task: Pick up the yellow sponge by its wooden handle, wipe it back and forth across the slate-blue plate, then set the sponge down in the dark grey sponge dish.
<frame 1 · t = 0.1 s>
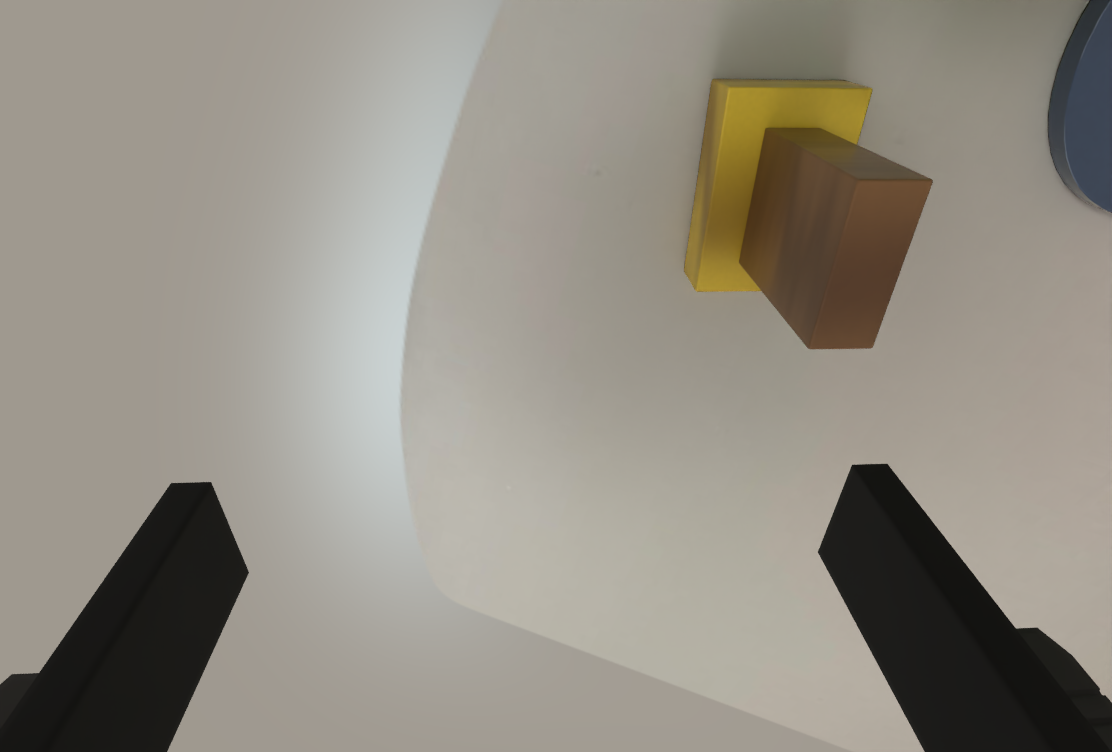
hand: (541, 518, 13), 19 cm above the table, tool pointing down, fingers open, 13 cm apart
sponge: (757, 183, 28), on the table
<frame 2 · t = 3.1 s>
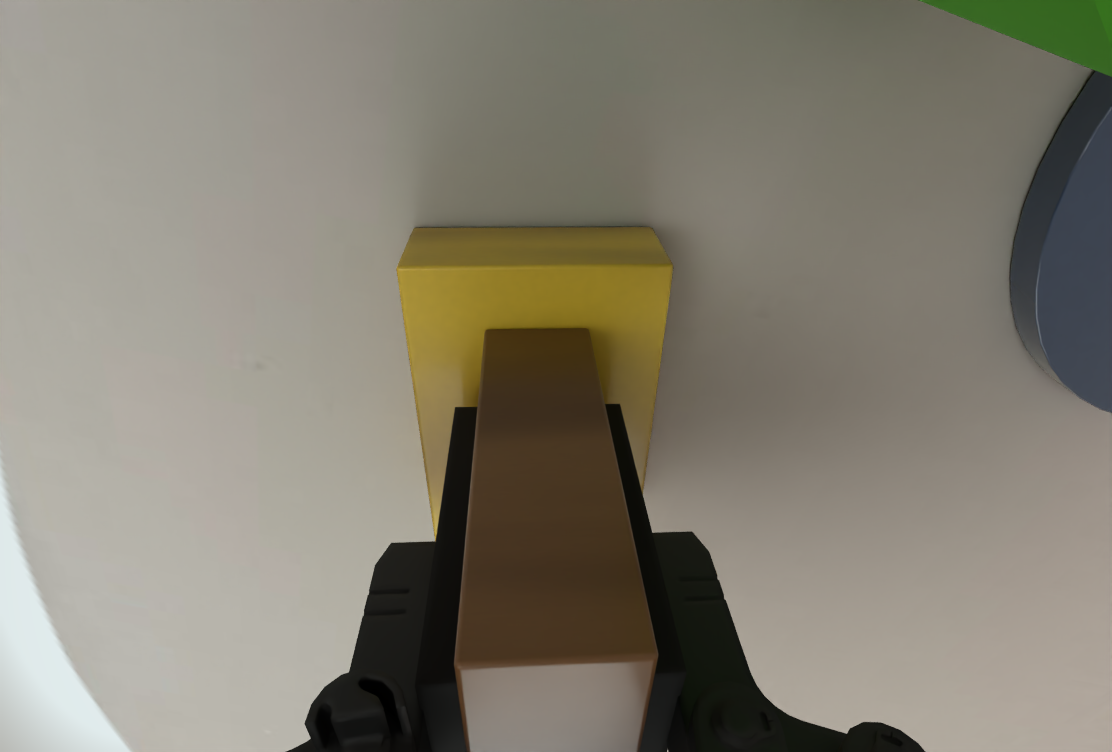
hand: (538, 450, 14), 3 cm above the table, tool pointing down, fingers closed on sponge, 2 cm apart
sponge: (534, 376, 17), on the table, touching gripper
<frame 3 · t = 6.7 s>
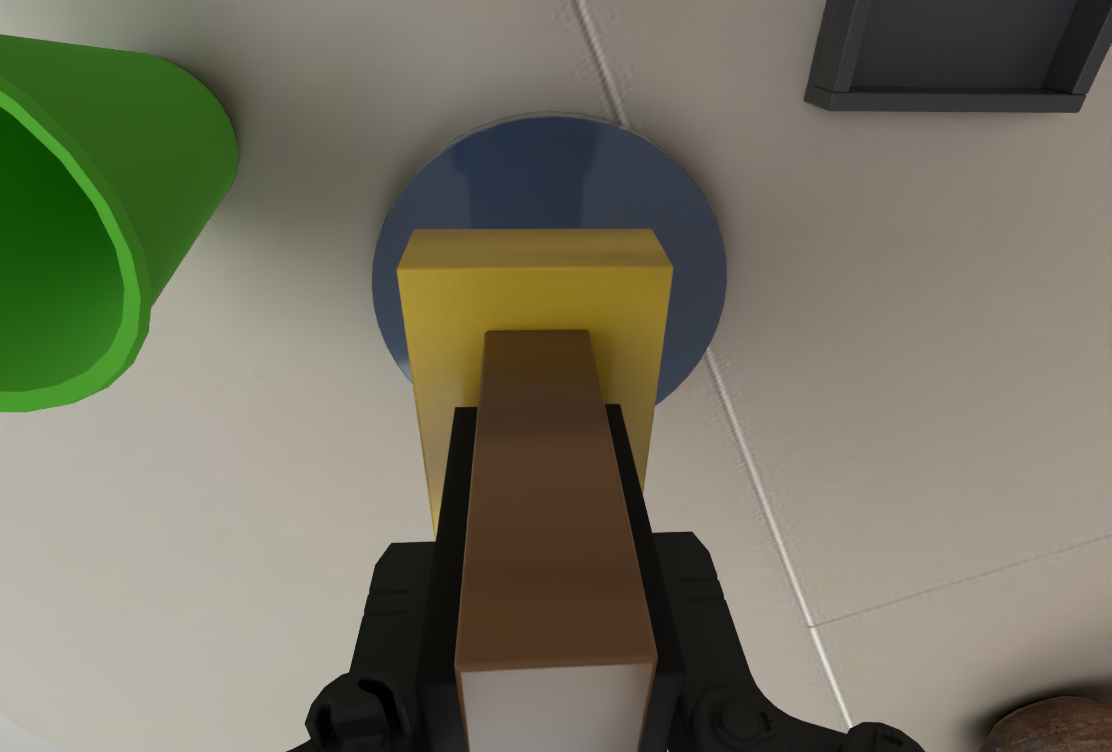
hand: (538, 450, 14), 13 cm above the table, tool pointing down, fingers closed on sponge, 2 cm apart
cup: (169, 132, 22), on the table
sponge: (534, 377, 17), point 9 cm above the table, touching gripper
bowl: (1031, 720, 52), on the table
plate: (550, 294, 26), on the table
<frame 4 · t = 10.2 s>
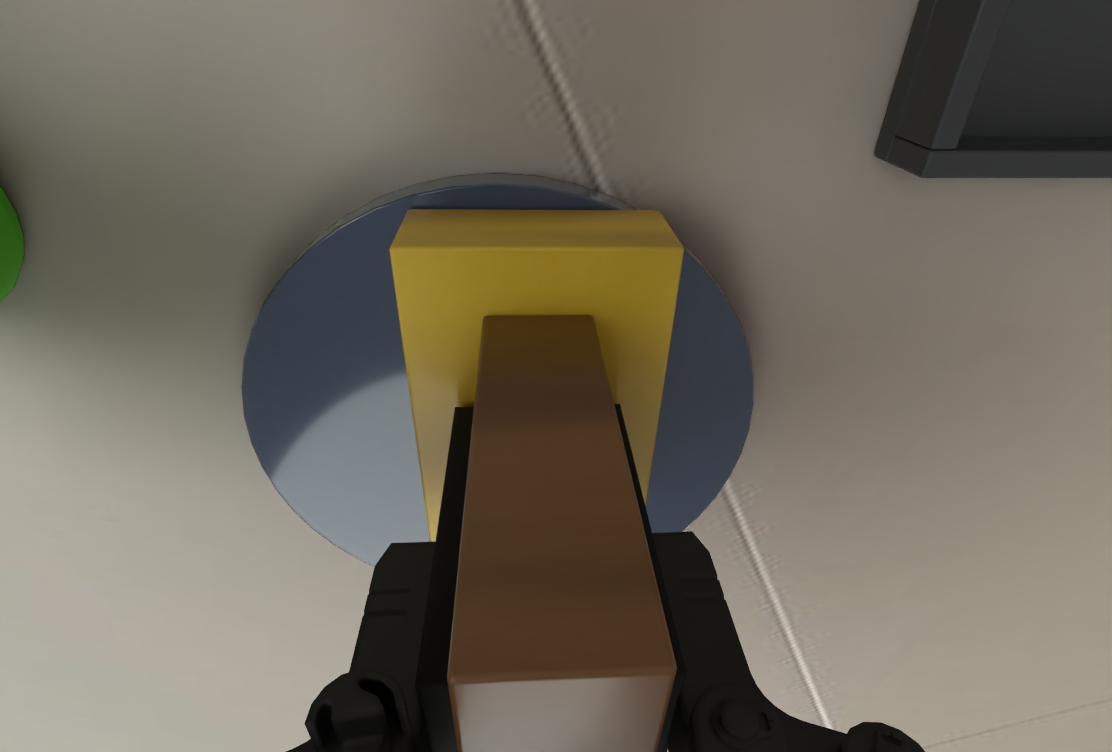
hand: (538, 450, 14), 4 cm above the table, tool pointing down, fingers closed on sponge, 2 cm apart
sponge: (534, 368, 16), point 1 cm above the table, touching gripper
plate: (506, 416, 19), on the table
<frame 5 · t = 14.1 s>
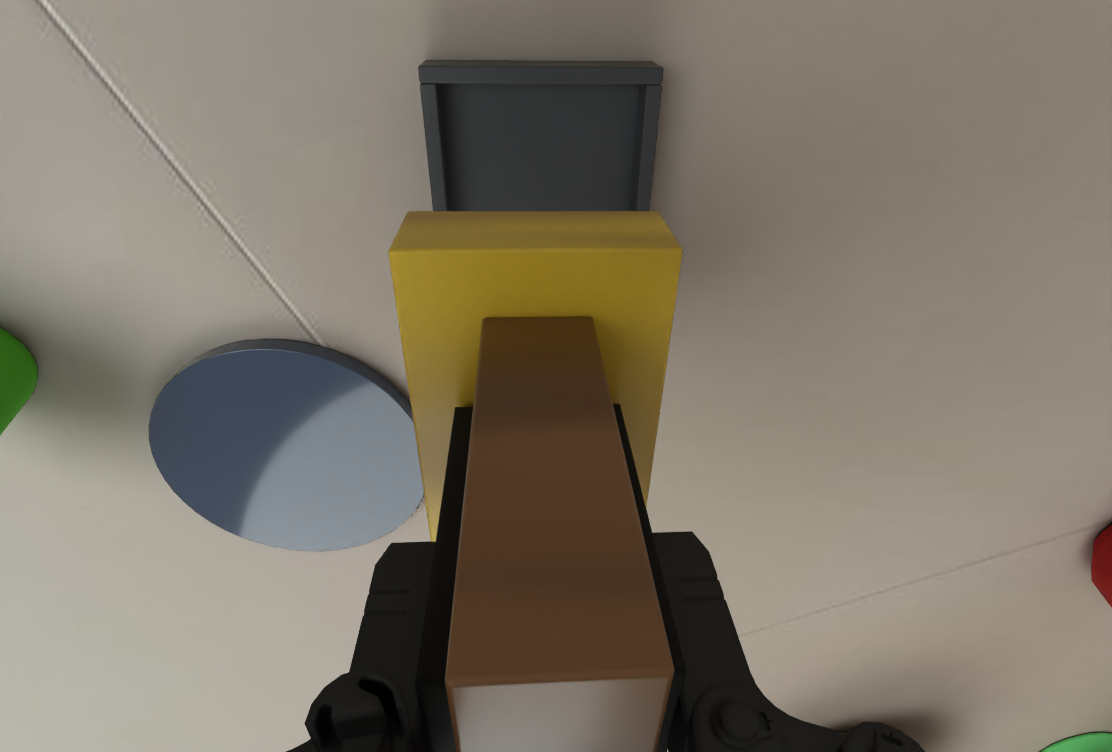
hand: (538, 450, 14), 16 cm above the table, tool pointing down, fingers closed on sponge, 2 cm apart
cup 2: (1073, 750, 63), on the table
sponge: (535, 369, 16), point 13 cm above the table, touching gripper
plate: (299, 451, 34), on the table
dish: (540, 210, 27), on the table
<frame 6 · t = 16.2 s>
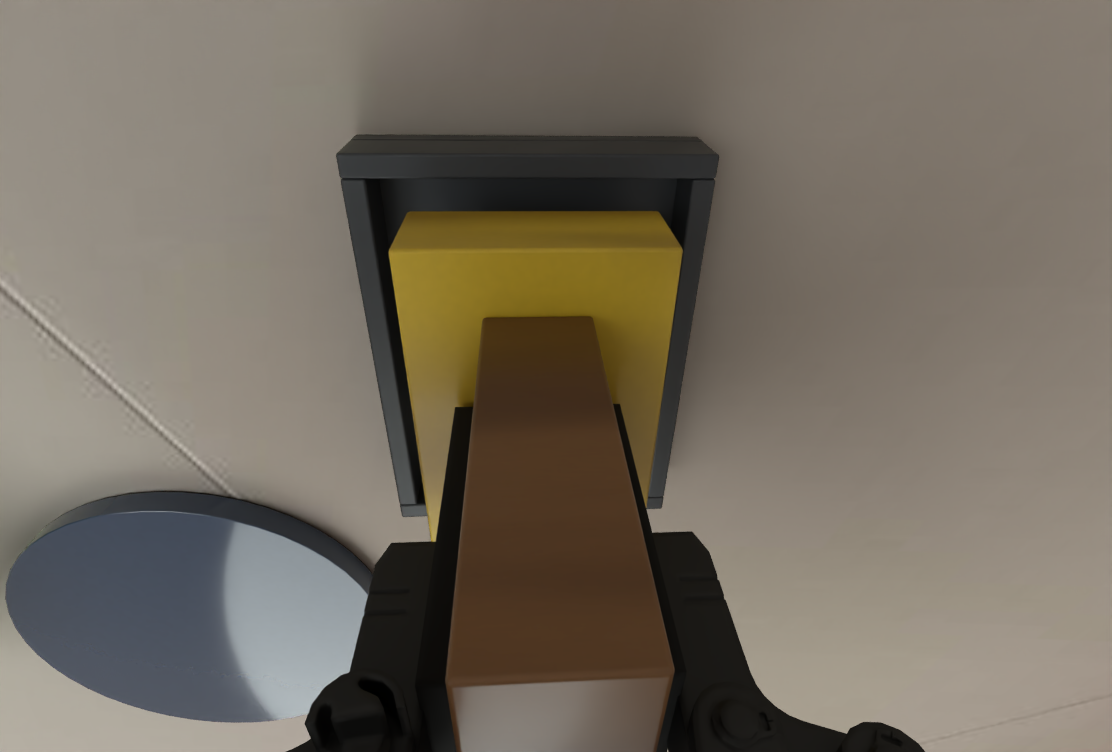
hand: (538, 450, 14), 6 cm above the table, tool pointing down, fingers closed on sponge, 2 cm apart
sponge: (535, 369, 16), point 3 cm above the table, touching gripper
plate: (217, 613, 26), on the table
dish: (531, 333, 19), on the table
when the fingers open (3 cm above the table, at t = 17.2 s): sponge stays where it is, resting on dish.
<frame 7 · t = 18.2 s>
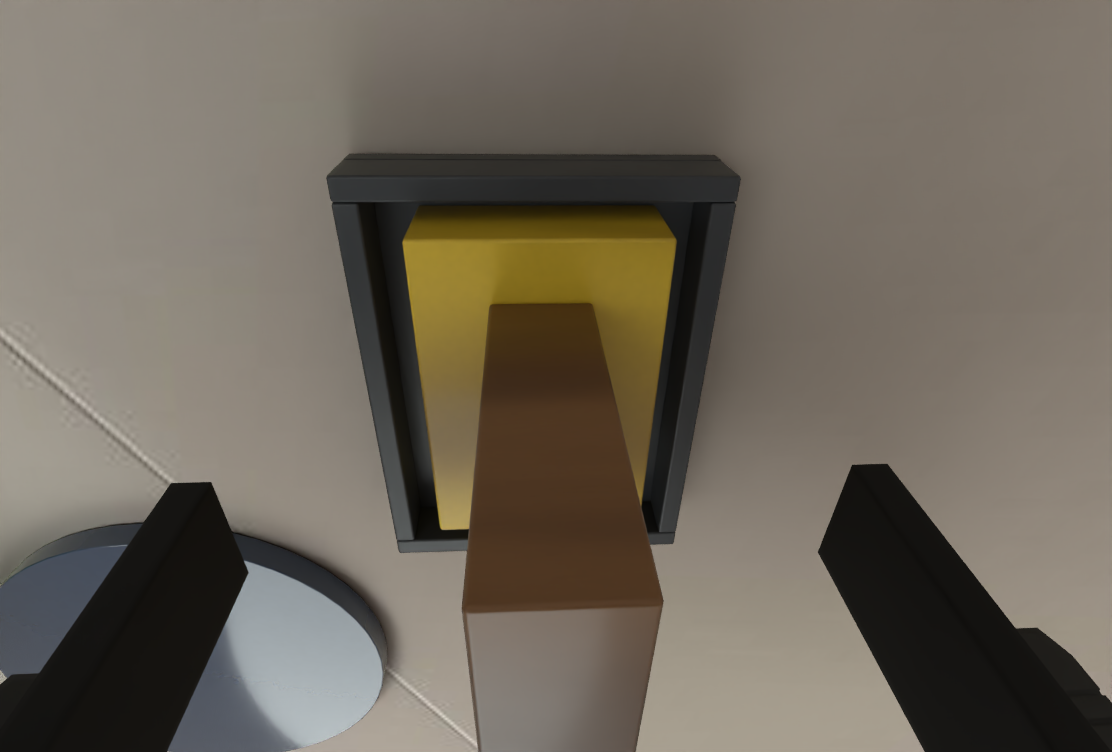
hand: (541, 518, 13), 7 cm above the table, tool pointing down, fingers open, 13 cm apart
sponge: (538, 356, 17), point 1 cm above the table, touching dish
plate: (207, 646, 25), on the table
dish: (535, 361, 18), on the table
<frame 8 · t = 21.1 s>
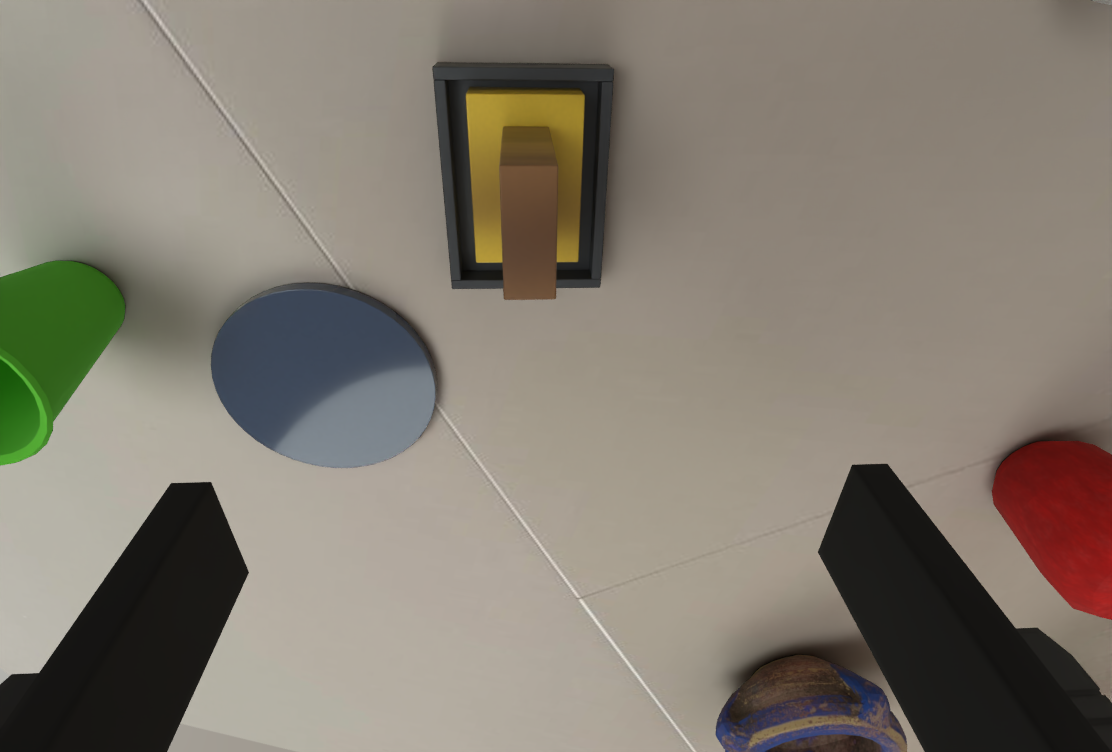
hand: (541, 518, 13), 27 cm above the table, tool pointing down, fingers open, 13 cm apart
cup: (84, 295, 37), on the table
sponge: (525, 172, 34), point 1 cm above the table, touching dish
bowl: (783, 675, 67), on the table
plate: (330, 379, 42), on the table
dish: (525, 179, 35), on the table
apple: (1027, 462, 51), on the table
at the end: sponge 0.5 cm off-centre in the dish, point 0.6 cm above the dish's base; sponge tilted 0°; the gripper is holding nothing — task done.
